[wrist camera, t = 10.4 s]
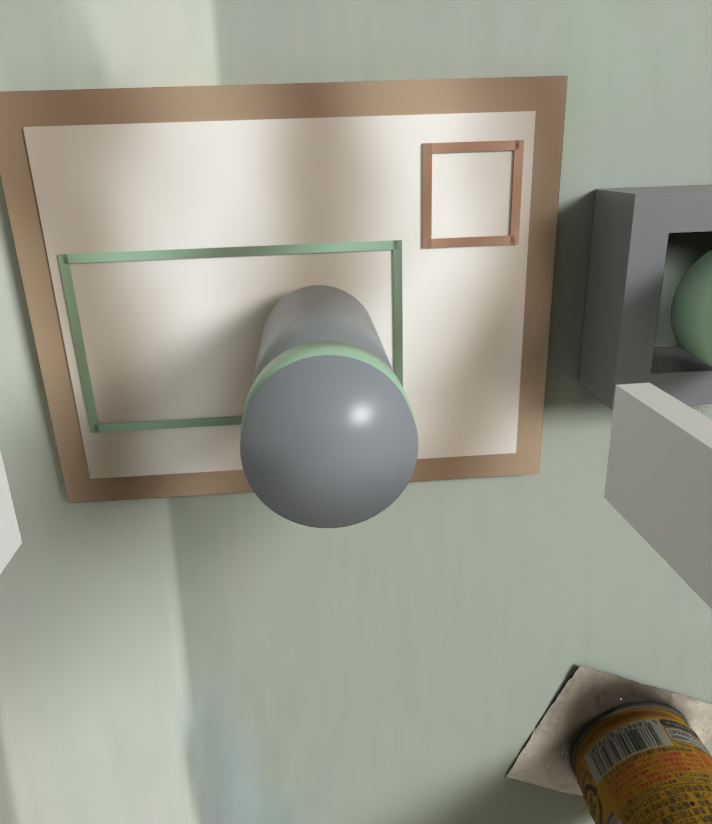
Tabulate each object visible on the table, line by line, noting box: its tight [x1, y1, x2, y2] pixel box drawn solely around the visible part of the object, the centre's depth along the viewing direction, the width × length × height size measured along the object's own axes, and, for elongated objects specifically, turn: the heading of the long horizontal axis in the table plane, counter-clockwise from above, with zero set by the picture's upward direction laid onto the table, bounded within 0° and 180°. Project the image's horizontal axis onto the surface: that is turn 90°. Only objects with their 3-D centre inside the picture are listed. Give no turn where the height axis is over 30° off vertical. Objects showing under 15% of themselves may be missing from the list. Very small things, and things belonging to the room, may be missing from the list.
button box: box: [579, 185, 712, 409], centre depth 23 cm, size 7×7×3 cm
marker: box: [240, 285, 419, 528], centre depth 19 cm, size 4×4×10 cm
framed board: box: [0, 76, 568, 503], centre depth 24 cm, size 18×14×1 cm
